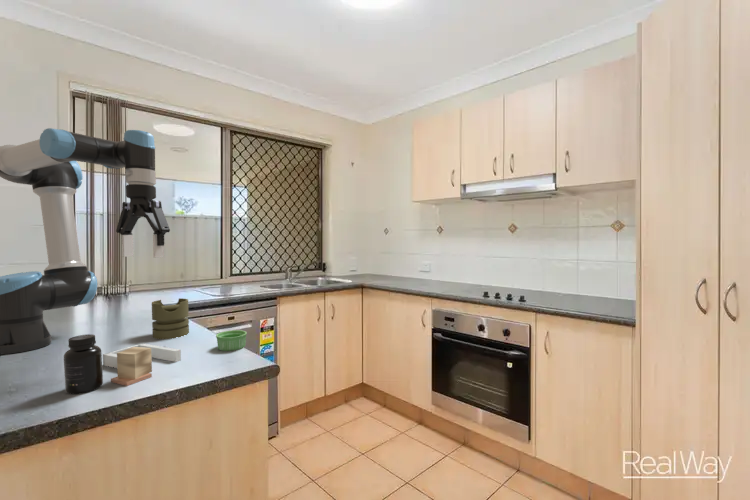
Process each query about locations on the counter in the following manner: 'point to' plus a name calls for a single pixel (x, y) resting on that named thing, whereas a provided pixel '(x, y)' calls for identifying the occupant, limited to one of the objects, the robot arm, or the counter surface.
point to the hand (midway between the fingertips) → (143, 257)
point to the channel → (156, 352)
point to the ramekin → (231, 340)
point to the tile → (129, 380)
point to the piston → (170, 319)
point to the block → (134, 362)
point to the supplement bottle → (83, 365)
